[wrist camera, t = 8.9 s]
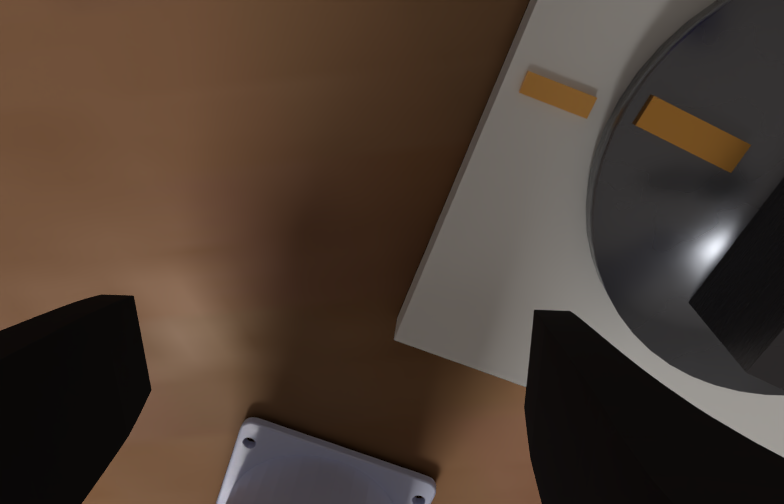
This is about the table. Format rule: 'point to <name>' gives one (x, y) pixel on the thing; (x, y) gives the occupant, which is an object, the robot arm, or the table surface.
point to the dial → (700, 199)
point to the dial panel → (550, 207)
